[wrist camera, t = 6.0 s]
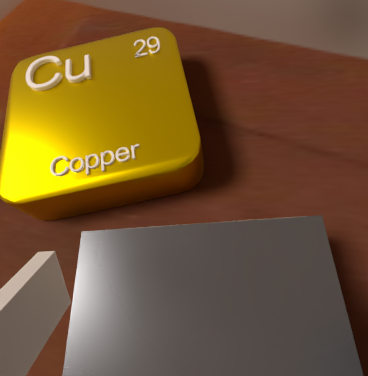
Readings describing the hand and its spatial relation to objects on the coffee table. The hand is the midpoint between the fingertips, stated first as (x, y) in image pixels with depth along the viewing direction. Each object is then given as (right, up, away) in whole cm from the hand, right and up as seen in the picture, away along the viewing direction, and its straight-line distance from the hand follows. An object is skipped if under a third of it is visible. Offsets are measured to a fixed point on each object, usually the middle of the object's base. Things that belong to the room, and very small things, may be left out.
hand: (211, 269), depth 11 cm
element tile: (-8, +8, +14) cm, 18 cm away
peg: (+1, -5, +5) cm, 7 cm away
